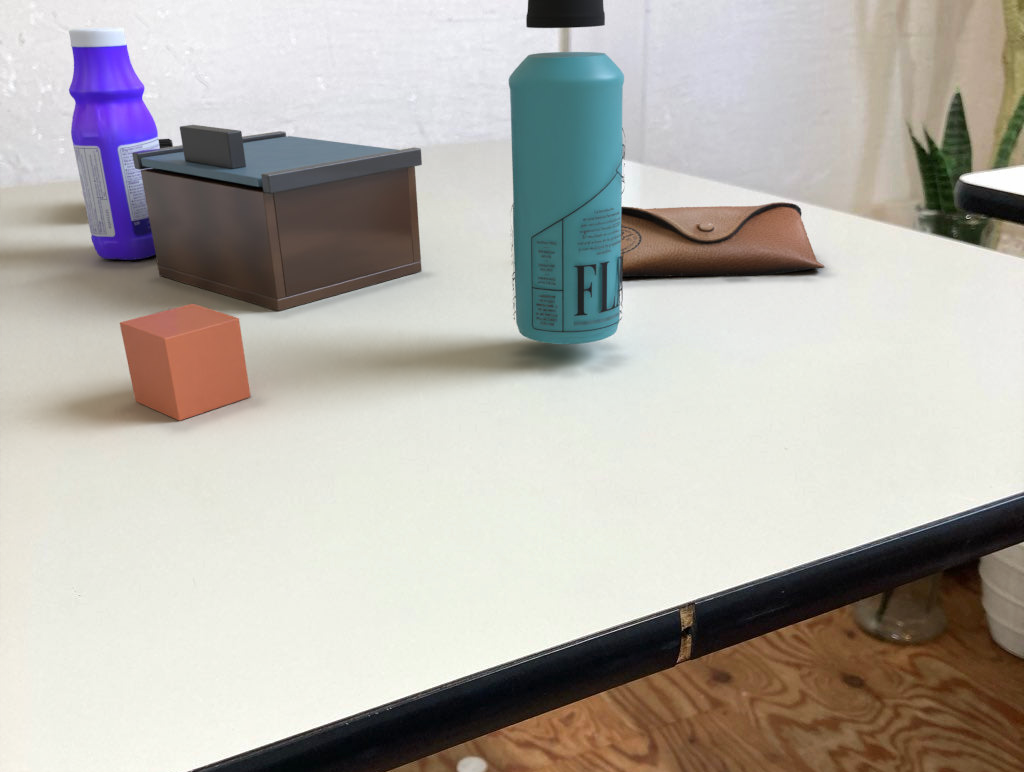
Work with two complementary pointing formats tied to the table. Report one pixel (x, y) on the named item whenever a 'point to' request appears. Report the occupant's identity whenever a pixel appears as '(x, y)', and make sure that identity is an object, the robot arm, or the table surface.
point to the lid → (249, 154)
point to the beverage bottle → (567, 184)
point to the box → (287, 227)
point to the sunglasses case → (715, 241)
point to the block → (186, 360)
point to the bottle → (111, 142)
